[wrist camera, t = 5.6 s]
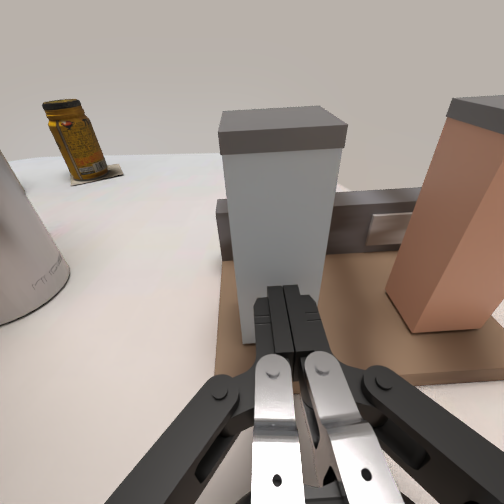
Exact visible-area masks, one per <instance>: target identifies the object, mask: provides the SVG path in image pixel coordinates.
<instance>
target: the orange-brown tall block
mask: <svg viewBox="0 0 504 504" xmlns="http://www.w3.org/2000/svg"><path fill="white" fill-rule="evenodd" d="M446 117H447V119H446V123H445V125H444V128H443V130H442V133H441V136H440V139H439V142H438V144H437V147H436V150H435V153H434V155H433V158H432V161H431V164H430V166H429V169H428V172H427V174H426V177H425V180H424V183H423V185H422V188H421V191H420V194H419V196H418V199H417V202H416V205H415V207H414V210H413V213H412V216H411V218H410V221H409V224H408V227H407V229H406V232H405V235H404V238H403V240H402V243H401V246H400V248H399V251H398V254H397V257H396V259H395V262H394V265H393V268H392V270H391V273H390V276H389V279H388V281H387V284H386V287H385V290H386V292H387V293H388V295H389V297H390V298H391V300H392V301H393V303H394V305H395V306H396V308H397V309H398V311H399V313H400V314H401V316H402V318H403V319H404V321H405V322H406V324H407V326H408V327H409V329H410V330H411V332H412V333H420V332H435V331H450V330H466V329H481V328H482V326H483V325H484V324H485V322H486V321H487V320H488V318H489V317H490V316H491V315H492V313H493V312H494V311H495V309H496V308H497V307H498V305H499V304H500V303H501V302H502V300H503V299H504V95H498V96H481V97H463V98H452V101H451V104H450V107H449V110H448V112H447V115H446Z"/></svg>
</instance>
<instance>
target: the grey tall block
mask: <svg viewBox="0 0 504 504" xmlns="http://www.w3.org/2000/svg"><path fill="white" fill-rule="evenodd" d="M347 127H348V124H346V123H345V122H343V121H342V120H340V119H339V118H337V117H336V116H334V115H333V114H331V113H329V112H328V111H327V110H325V109H323V108H322V107H320V106H305V107H287V108H270V109H252V110H235V111H223V113H222V117H221V121H220V125H219V130H218V137H219V146H220V155H222V160H223V169H224V178H225V187H226V196H227V205H228V214H229V223H230V232H231V241H232V250H233V260H234V269H235V278H236V287H237V296H238V305H239V314H240V323H241V332H242V341H243V344H250V343H255V326H254V309H253V306H254V304H255V301H256V299H257V298H262V297H267V286H282V285H296V284H297V285H298V287H299V291H300V295H310V296H311V297H312V298H313V300H314V301H315V302H316V304H317V306H318V300H319V294H320V287H321V281H322V275H323V268H324V262H325V255H326V249H327V243H328V236H329V230H330V224H331V217H332V211H333V205H334V198H335V192H336V185H337V179H338V173H339V166H340V160H341V153H342V148H344V146H345V140H346V133H347Z"/></svg>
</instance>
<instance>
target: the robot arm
mask: <svg viewBox="0 0 504 504" xmlns="http://www.w3.org/2000/svg"><path fill="white" fill-rule="evenodd" d="M69 273H70V270H69V266H68V264H67V263H66V261H65V259H64V258H63V256H62V254H61V253H60V251H59V249H58V248H57V246H56V244H55V243H54V241H53V239H52V238H51V236H50V234H49V232H48V231H47V229H46V227H45V226H44V224H43V222H42V221H41V219H40V217H39V216H38V214H37V212H36V211H35V209H34V208H33V206H32V204H31V203H30V201H29V199H28V198H27V196H26V194H25V193H24V191H23V189H22V188H21V186H20V184H19V183H18V181H17V179H16V178H15V176H14V174H13V173H12V171H11V169H10V168H9V166H8V164H7V163H6V161H5V159H4V158H3V156H2V155H1V153H0V325H1V324H4V323H7V322H10V321H12V320H15V319H17V318H19V317H22V316H24V315H26V314H28V313H29V312H31V311H33V310H35V309H37V308H38V307H40V306H41V305H43V304H44V303H45V302H47V301H48V300H50V299H51V298H52V297H53V296H54V295H55V294H56V293H58V291H59V290H60V289H61V288H62V287H63V286H64V284H65V283H66V281H67V279H68V277H69ZM253 309H254V326H255V343H256V359H255V362H254V364H253V365H252V367H251V368H250V369H249V370H248V371H246V372H244V373H242V374H240V375H238V376H235V377H233V378H232V377H231V376H229V375H225V374H219V375H215V376H213V377H211V378H210V379H209V380H208V381H207V382H206V383H205V384H204V385H203V386H202V388H201V389H200V390H199V391H198V392H197V394H196V395H195V396H194V397H193V398H192V400H191V401H190V402H189V403H188V404H187V405H186V407H185V408H184V409H183V410H182V411H181V413H180V414H179V415H178V416H177V417H176V419H175V420H174V421H173V422H172V423H171V425H170V426H169V427H168V428H167V429H166V431H165V432H164V433H163V434H162V435H161V436H160V438H159V439H158V440H157V441H156V442H155V444H154V445H153V446H152V447H151V448H150V450H149V451H148V452H147V453H146V454H145V456H144V457H143V458H142V459H141V460H140V461H139V463H138V464H137V465H136V466H135V467H134V469H133V470H132V471H131V472H130V473H129V475H128V476H127V477H126V478H125V479H124V481H123V482H122V483H121V484H120V485H119V487H118V488H117V489H116V490H115V491H114V492H113V494H112V495H111V496H110V497H109V498H108V500H107V501H106V502H105V503H104V504H195V502H196V501H197V499H198V498H199V496H200V495H201V493H202V492H203V490H204V488H205V487H206V485H207V484H208V482H209V481H210V479H211V478H212V476H213V474H214V473H215V471H216V470H217V468H218V467H219V465H220V464H221V462H222V461H223V459H224V457H225V456H226V454H227V453H228V451H229V450H230V448H231V447H232V445H233V443H234V442H235V440H236V439H237V437H238V436H239V434H240V433H241V431H243V430H245V429H247V428H249V427H252V426H254V429H253V460H252V491H251V492H249V493H248V494H246V495H245V496H243V497H242V498H241V499H240V500H239V501H238V502H237V503H236V504H415V503H414V502H413V501H412V500H410V499H409V498H408V497H407V496H406V495H404V494H403V493H401V492H400V491H399V489H398V487H397V484H396V482H395V480H394V477H393V475H392V473H391V470H390V468H389V466H388V463H387V461H386V459H385V456H384V454H383V451H382V450H384V451H385V452H386V453H387V454H388V455H389V456H390V457H391V458H392V459H393V460H394V461H395V462H396V463H397V464H398V465H399V466H400V467H402V468H403V469H404V470H405V471H406V472H407V473H408V474H409V475H410V476H411V477H412V478H413V479H414V480H415V481H416V482H417V483H418V484H419V485H421V486H422V487H423V488H424V489H425V490H426V491H427V492H428V493H429V494H430V495H431V496H432V497H433V498H434V499H435V500H436V501H437V502H439V503H440V504H504V452H503V451H501V450H500V449H499V448H497V447H496V446H495V445H493V444H492V443H491V442H489V441H488V440H486V439H485V438H484V437H482V436H481V435H480V434H478V433H477V432H476V431H474V430H473V429H471V428H470V427H469V426H467V425H466V424H465V423H463V422H462V421H461V420H459V419H458V418H456V417H455V416H454V415H452V414H451V413H450V412H448V411H447V410H446V409H444V408H443V407H441V406H440V405H439V404H437V403H436V402H435V401H433V400H432V399H431V398H429V397H428V396H426V395H425V394H424V393H422V392H421V391H420V390H418V389H417V388H416V387H414V386H413V385H412V384H410V383H409V382H407V381H406V380H405V379H403V378H402V377H401V376H399V375H398V374H397V373H395V372H394V371H392V370H391V369H389V368H387V367H385V366H381V365H373V366H370V367H368V368H367V369H366V370H363V369H359V368H355V367H351V366H348V365H346V364H343V363H342V362H340V361H339V360H338V359H337V358H336V357H335V356H334V355H333V353H332V352H331V349H330V346H329V343H328V340H327V336H326V333H325V330H324V327H323V324H322V321H321V317H320V314H319V311H318V307H317V304H316V302H315V301H314V300H313V298H312V297H311V296H310V295H300V291H299V287H298V285H297V284H296V285H282V286H267V297H262V298H257V299H256V301H255V304H254V306H253ZM292 379H293V382H296V381H299V386H300V391H301V393H300V401H301V405H302V409H303V413H304V417H305V421H306V425H307V429H308V433H309V437H310V441H311V445H312V450H313V456H314V466H315V471H316V476H317V480H318V484H319V488H316V487H312V486H309V485H305V484H303V479H302V469H301V458H300V447H299V437H298V430H297V427H296V421H295V410H294V399H293V388H292ZM361 474H362V475H361Z"/></svg>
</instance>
